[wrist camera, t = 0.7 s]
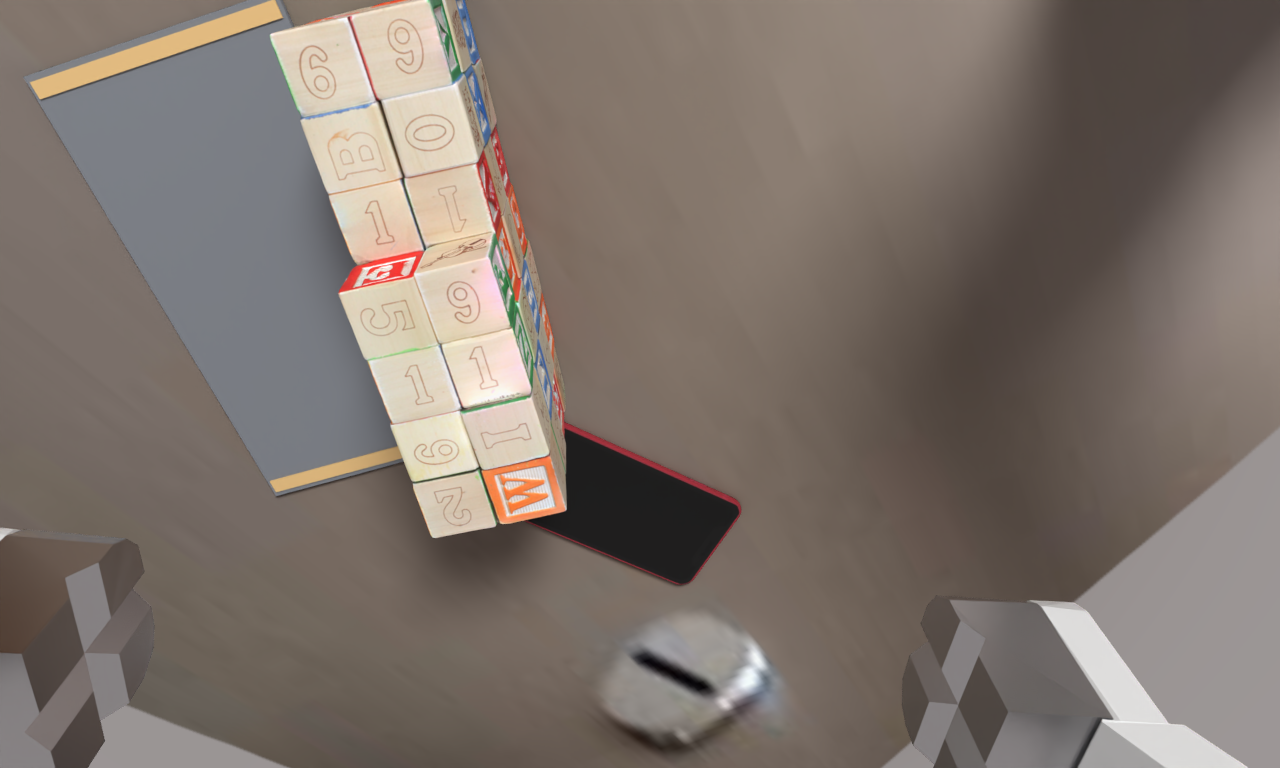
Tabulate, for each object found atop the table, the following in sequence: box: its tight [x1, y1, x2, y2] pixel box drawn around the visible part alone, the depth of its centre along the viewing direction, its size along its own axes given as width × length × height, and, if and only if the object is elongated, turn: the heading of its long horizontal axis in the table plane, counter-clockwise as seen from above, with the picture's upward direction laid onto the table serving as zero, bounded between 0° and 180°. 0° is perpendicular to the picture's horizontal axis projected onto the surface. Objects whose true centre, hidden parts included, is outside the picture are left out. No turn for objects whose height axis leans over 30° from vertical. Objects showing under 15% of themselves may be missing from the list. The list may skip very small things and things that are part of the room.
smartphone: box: [524, 422, 741, 585], centre depth 52 cm, size 7×1×15 cm
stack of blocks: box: [270, 0, 567, 538], centre depth 38 cm, size 21×6×12 cm, turn 11°
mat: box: [24, 0, 404, 496], centre depth 45 cm, size 13×25×1 cm, turn 16°
